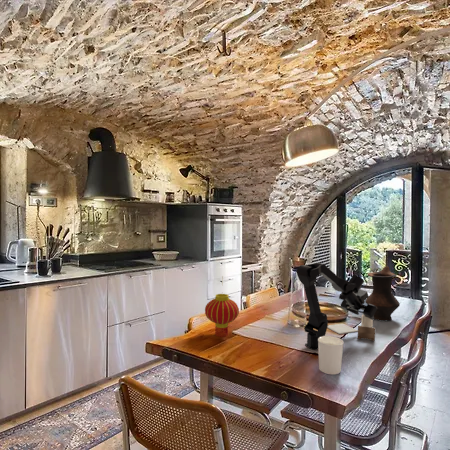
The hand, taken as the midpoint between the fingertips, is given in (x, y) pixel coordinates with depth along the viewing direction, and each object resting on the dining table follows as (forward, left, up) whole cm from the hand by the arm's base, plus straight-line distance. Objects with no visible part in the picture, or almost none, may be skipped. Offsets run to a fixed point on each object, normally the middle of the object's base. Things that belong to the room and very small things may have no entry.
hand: (365, 316), depth 182 cm
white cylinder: (-43, -28, -9) cm, 52 cm away
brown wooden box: (-4, -5, -9) cm, 11 cm away
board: (-7, +10, -9) cm, 15 cm away
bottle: (+1, 0, -9) cm, 9 cm away
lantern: (-71, +22, -9) cm, 75 cm away
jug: (+29, +18, -9) cm, 36 cm away
